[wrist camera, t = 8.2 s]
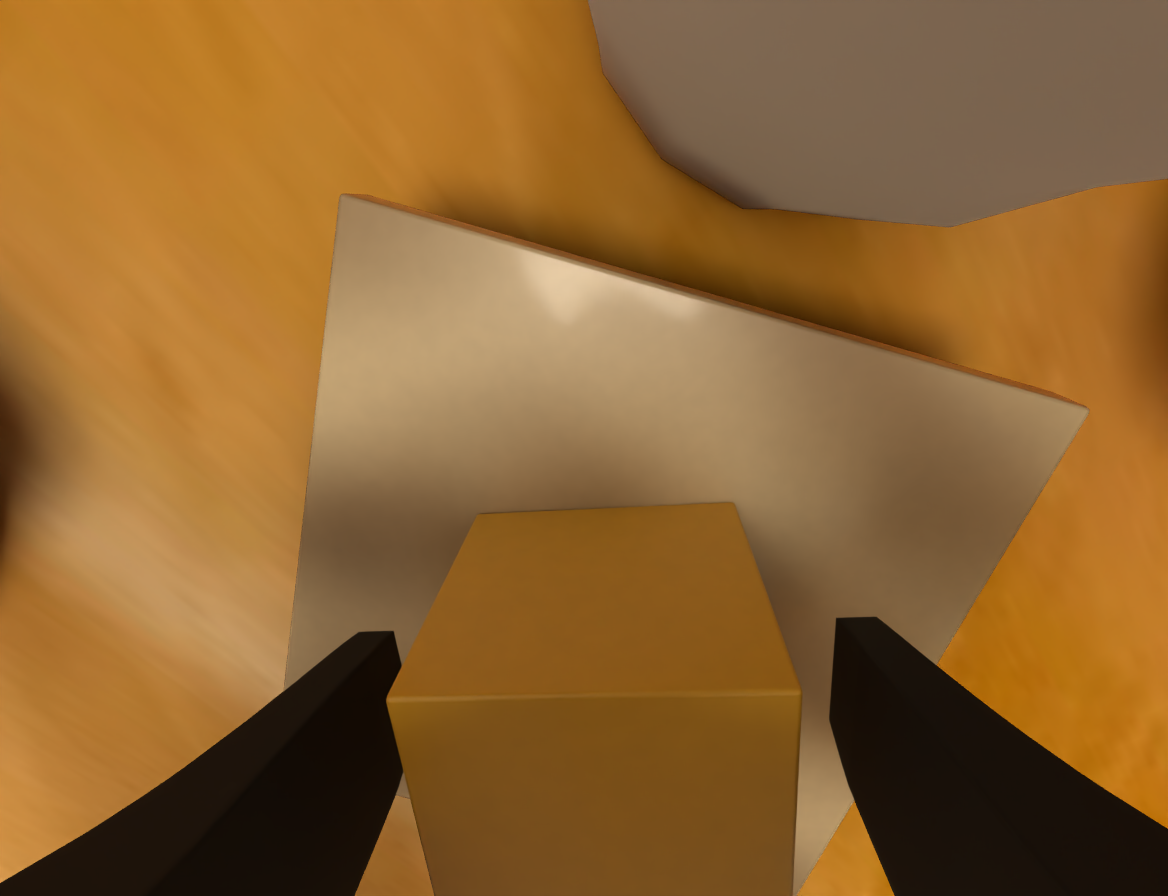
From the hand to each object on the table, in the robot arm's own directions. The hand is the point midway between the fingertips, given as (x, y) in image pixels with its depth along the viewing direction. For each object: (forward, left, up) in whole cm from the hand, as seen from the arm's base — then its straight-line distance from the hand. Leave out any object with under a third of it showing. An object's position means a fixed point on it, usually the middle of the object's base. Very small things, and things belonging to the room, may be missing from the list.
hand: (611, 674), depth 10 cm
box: (0, 0, -6) cm, 6 cm away
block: (0, 0, -2) cm, 2 cm away
